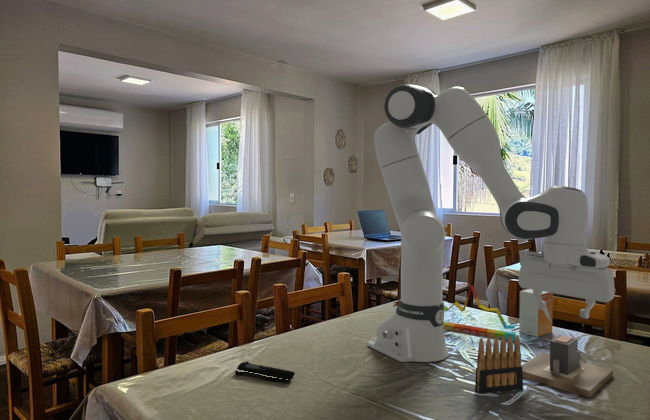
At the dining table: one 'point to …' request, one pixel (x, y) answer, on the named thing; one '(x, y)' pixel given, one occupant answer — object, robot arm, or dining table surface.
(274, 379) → the electric trimmer
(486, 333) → the chart
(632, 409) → the dining table surface
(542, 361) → the board
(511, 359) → the ammunition clip
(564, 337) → the plug block
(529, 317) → the small box
